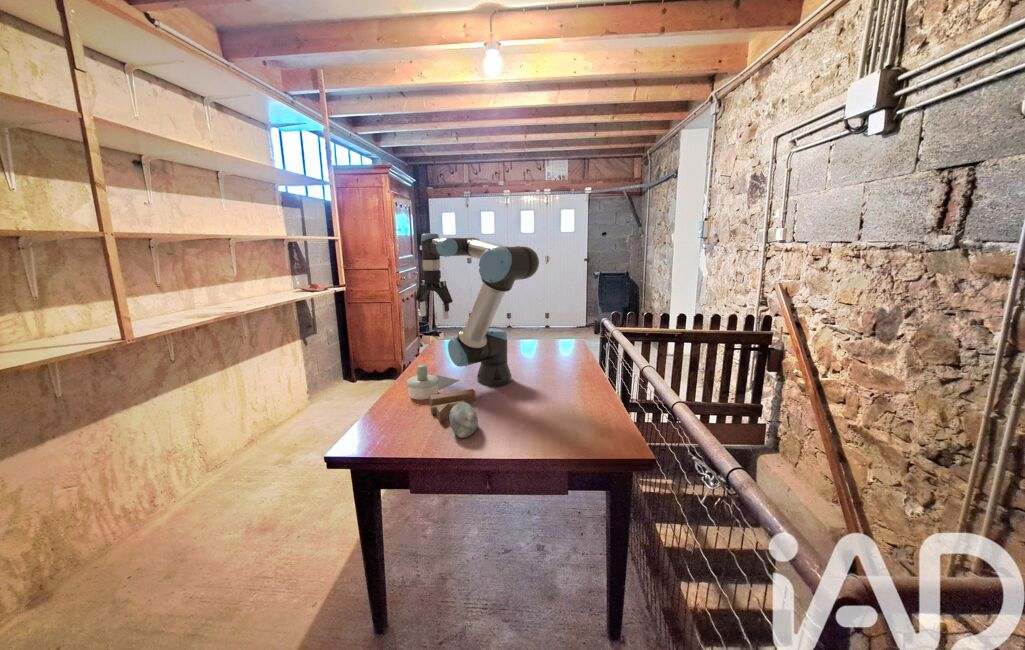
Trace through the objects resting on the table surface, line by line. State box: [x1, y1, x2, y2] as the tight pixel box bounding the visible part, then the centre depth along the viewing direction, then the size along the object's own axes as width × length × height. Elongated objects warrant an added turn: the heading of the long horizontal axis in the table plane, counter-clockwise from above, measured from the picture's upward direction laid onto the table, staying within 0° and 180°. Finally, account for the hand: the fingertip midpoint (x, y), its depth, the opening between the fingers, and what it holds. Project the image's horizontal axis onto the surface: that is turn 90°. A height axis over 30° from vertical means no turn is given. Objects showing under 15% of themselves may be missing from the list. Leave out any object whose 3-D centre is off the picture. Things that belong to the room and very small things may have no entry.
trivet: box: [436, 374, 461, 391], centre depth 167 cm, size 13×13×1 cm
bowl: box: [407, 384, 439, 400], centre depth 153 cm, size 11×11×5 cm
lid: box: [406, 364, 438, 389], centre depth 152 cm, size 12×12×7 cm
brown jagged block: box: [428, 388, 476, 425], centre depth 139 cm, size 17×6×18 cm
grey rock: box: [448, 402, 479, 439], centre depth 123 cm, size 14×10×10 cm
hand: (434, 317), depth 173 cm, fingers open, 13 cm apart
